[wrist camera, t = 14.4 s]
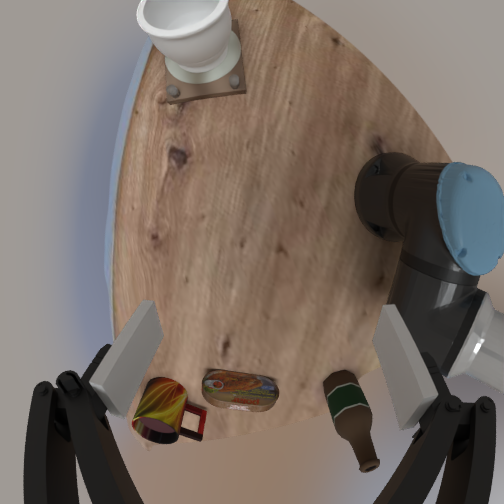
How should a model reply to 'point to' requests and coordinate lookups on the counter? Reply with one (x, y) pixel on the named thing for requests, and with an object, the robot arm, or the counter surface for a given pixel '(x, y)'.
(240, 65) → the seat board
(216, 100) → the counter surface
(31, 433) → the robot arm
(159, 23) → the jar
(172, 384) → the mug
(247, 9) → the counter surface
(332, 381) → the beer bottle
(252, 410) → the tin
